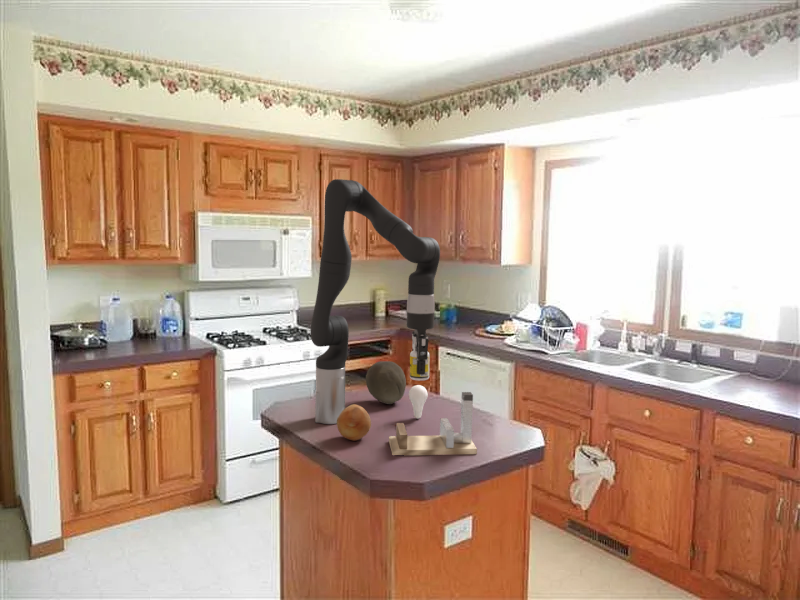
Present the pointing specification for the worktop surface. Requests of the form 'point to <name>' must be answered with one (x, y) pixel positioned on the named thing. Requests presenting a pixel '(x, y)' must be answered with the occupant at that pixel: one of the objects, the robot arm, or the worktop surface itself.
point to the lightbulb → (418, 399)
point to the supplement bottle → (414, 366)
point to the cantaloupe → (386, 381)
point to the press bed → (425, 444)
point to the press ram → (466, 424)
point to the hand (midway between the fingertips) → (419, 371)
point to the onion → (353, 422)
